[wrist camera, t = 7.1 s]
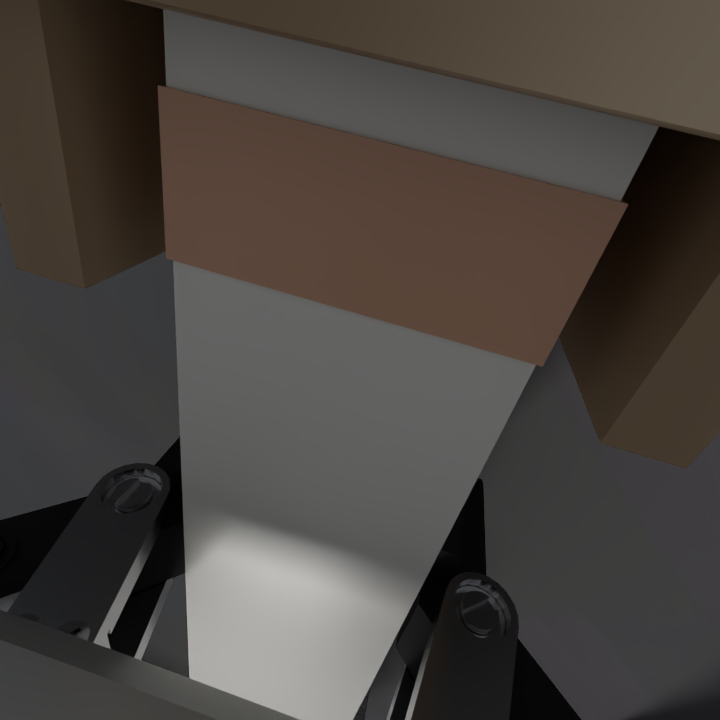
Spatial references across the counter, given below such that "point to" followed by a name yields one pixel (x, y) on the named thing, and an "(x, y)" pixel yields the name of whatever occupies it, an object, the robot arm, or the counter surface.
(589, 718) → the counter surface
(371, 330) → the light grey bar
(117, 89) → the crate
